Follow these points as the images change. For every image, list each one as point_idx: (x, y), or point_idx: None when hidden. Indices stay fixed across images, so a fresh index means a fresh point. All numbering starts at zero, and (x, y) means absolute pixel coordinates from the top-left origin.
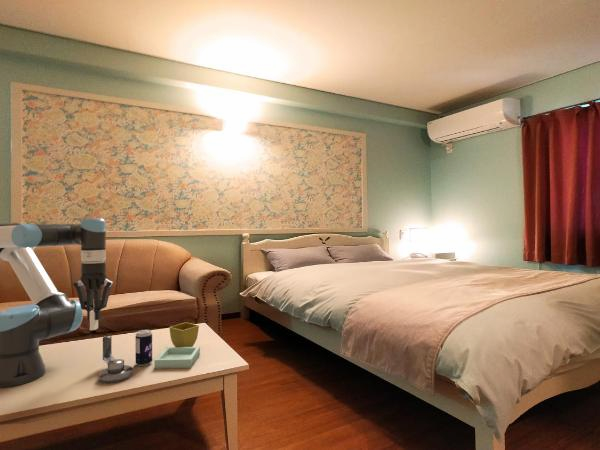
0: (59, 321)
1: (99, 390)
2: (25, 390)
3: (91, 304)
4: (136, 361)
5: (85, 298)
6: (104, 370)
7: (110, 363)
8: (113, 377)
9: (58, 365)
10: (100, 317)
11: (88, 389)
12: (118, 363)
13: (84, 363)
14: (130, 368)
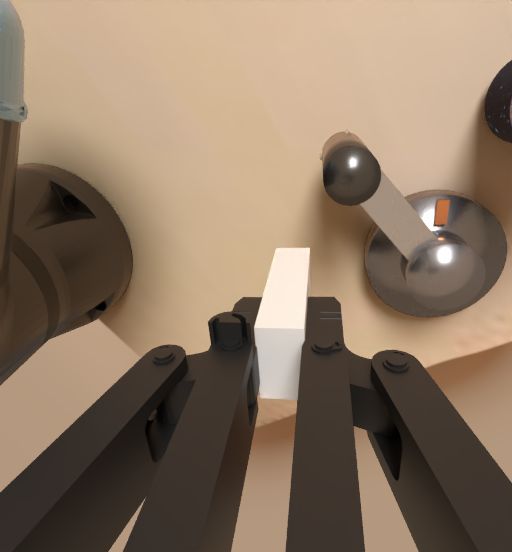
0: None
1: (409, 348)
2: (168, 332)
3: (246, 425)
4: (500, 135)
5: (117, 460)
6: (378, 253)
7: (426, 295)
8: (445, 313)
9: (100, 125)
10: (340, 305)
11: (367, 339)
12: (466, 297)
13: (201, 98)
14: (495, 236)
